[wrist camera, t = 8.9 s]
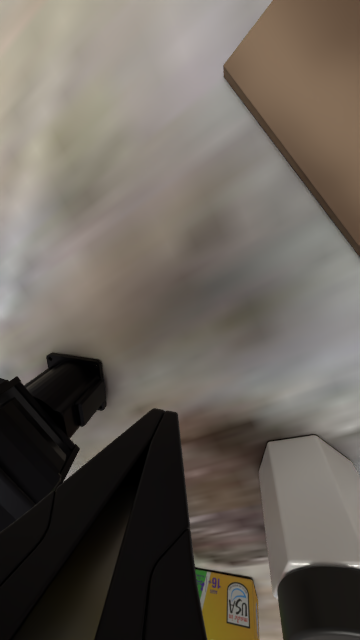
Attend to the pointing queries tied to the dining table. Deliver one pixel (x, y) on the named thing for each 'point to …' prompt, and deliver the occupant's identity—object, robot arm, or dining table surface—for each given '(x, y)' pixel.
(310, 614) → the jar
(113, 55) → the dining table surface
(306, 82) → the shelf
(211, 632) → the game box
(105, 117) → the dining table surface
